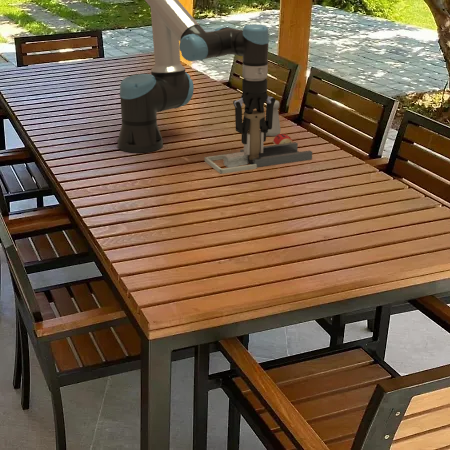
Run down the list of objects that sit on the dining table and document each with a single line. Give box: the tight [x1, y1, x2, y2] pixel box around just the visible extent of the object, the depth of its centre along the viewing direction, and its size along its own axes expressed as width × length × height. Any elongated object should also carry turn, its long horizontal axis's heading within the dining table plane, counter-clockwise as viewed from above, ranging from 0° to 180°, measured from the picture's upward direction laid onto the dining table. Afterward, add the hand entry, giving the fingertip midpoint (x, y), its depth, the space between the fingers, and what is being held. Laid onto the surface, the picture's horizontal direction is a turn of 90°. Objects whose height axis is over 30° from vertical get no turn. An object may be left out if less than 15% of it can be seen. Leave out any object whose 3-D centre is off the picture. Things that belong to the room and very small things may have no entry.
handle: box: [243, 109, 266, 160], centre depth 222 cm, size 5×6×15 cm
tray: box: [203, 152, 258, 175], centre depth 223 cm, size 12×13×2 cm
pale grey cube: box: [223, 153, 239, 168], centre depth 222 cm, size 4×4×4 cm
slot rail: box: [239, 141, 313, 168], centre depth 228 cm, size 20×11×4 cm, turn 113°
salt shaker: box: [266, 100, 282, 137], centre depth 250 cm, size 6×6×13 cm
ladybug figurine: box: [272, 133, 294, 145], centre depth 244 cm, size 7×10×4 cm
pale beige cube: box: [233, 151, 249, 167], centre depth 223 cm, size 4×4×4 cm
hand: (253, 152), depth 225 cm, fingers closed on handle, 4 cm apart
